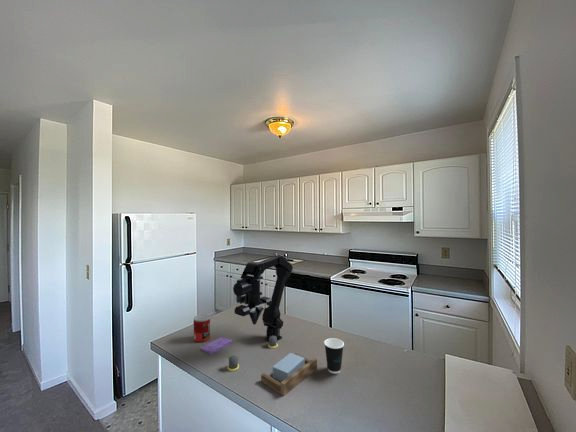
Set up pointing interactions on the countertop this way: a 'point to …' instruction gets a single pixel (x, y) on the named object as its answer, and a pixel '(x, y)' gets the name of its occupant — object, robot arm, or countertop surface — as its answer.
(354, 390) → the countertop surface
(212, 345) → the sponges
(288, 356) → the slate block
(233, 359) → the bollards
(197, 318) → the canned food
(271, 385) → the bay
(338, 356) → the dixie cup
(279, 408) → the countertop surface
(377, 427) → the countertop surface
